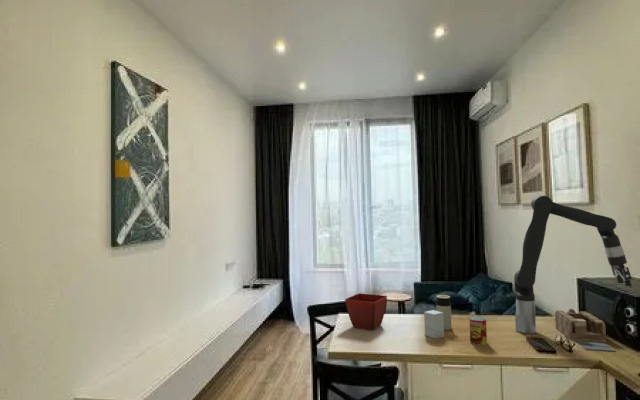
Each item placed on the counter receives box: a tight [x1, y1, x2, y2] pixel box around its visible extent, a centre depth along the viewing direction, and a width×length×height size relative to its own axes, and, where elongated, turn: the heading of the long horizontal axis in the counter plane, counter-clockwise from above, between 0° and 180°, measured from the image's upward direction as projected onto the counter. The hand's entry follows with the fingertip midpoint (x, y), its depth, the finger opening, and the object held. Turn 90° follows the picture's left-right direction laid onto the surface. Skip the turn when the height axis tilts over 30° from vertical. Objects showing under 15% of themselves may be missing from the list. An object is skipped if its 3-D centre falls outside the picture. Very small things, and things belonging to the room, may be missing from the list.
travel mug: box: [435, 294, 452, 331], centre depth 220 cm, size 8×8×18 cm
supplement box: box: [423, 309, 445, 339], centre depth 207 cm, size 7×7×13 cm
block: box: [572, 319, 586, 331], centre depth 203 cm, size 4×5×5 cm
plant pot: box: [344, 293, 388, 331], centre depth 226 cm, size 19×19×17 cm
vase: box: [566, 308, 577, 313], centre depth 222 cm, size 7×7×9 cm
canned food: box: [468, 315, 488, 346], centre depth 195 cm, size 8×8×12 cm
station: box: [554, 310, 616, 353], centre depth 197 cm, size 34×16×10 cm, turn 166°
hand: (625, 286), depth 198 cm, fingers open, 8 cm apart
